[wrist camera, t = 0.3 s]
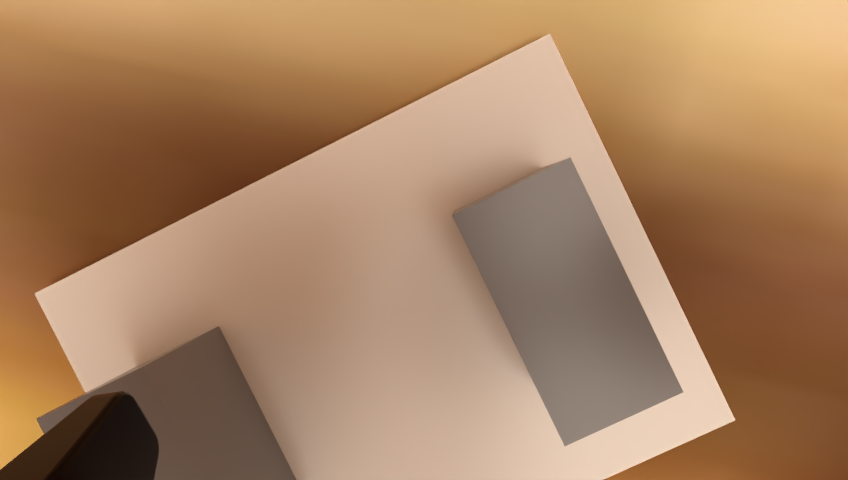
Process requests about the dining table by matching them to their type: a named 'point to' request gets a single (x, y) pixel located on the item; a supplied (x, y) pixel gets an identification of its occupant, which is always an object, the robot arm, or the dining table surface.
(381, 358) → the plate
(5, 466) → the robot arm
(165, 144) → the dining table surface
